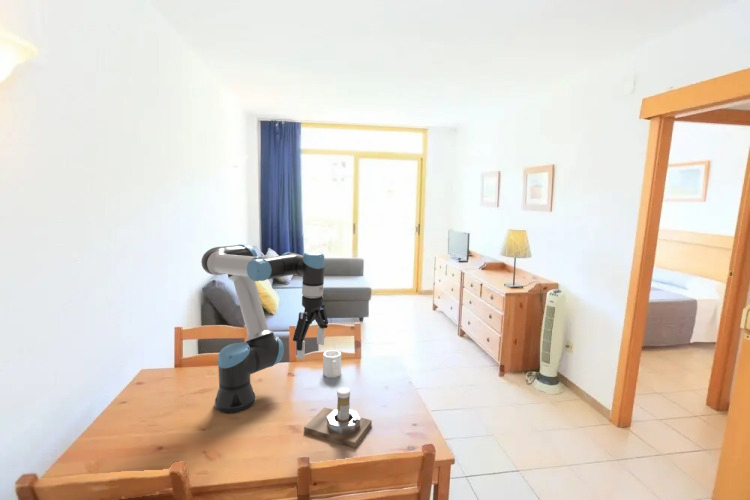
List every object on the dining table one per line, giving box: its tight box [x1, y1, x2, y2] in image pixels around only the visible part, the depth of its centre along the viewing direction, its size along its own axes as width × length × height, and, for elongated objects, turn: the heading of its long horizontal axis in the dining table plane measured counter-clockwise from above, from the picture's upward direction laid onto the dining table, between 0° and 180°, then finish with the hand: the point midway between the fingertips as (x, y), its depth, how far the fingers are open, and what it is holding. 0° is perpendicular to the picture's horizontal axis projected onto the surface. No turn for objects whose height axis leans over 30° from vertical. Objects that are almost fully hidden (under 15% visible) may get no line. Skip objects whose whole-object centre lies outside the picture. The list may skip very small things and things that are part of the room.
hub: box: [327, 409, 361, 435], centre depth 137 cm, size 11×11×4 cm
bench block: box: [303, 407, 373, 449], centre depth 139 cm, size 20×14×2 cm
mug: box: [322, 349, 342, 379], centre depth 178 cm, size 12×9×10 cm
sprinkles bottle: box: [336, 386, 351, 423], centre depth 137 cm, size 5×5×14 cm
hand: (310, 350), depth 141 cm, fingers open, 13 cm apart
